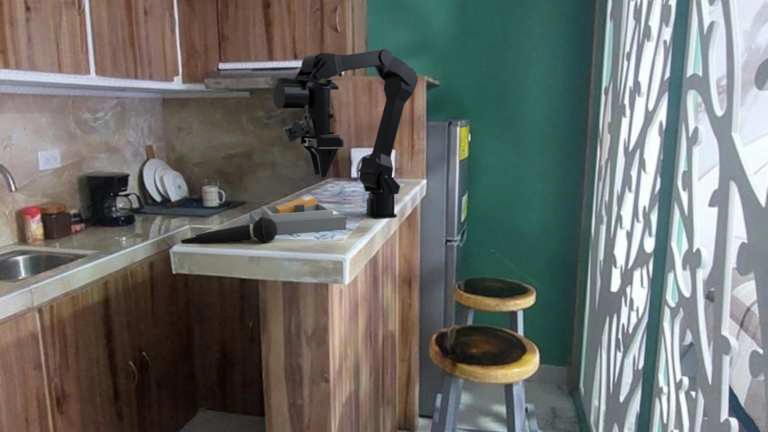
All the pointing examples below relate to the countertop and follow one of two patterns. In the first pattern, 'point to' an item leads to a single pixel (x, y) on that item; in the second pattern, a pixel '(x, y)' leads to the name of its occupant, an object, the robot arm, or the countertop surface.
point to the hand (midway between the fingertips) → (320, 175)
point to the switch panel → (302, 219)
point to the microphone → (239, 233)
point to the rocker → (290, 206)
